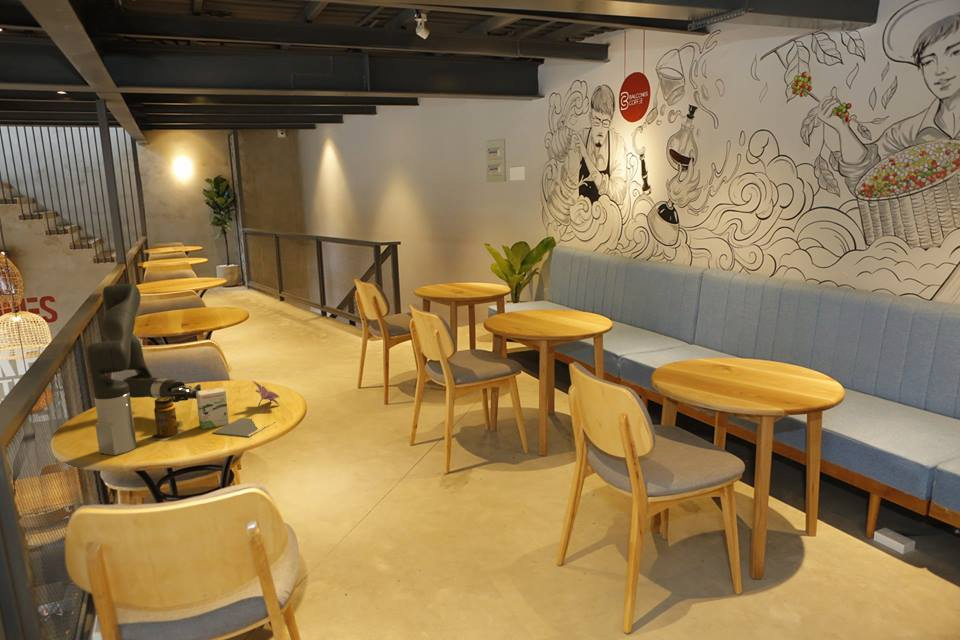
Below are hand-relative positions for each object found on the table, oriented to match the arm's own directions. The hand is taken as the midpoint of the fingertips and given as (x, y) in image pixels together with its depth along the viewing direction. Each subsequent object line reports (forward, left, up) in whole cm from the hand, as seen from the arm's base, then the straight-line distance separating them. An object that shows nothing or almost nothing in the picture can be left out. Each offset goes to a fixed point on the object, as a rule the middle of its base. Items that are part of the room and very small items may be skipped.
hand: (202, 395), depth 218 cm
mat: (-1, -16, -10) cm, 19 cm away
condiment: (-13, +5, -10) cm, 17 cm away
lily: (+20, -10, -10) cm, 24 cm away
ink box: (-1, -4, -10) cm, 11 cm away
